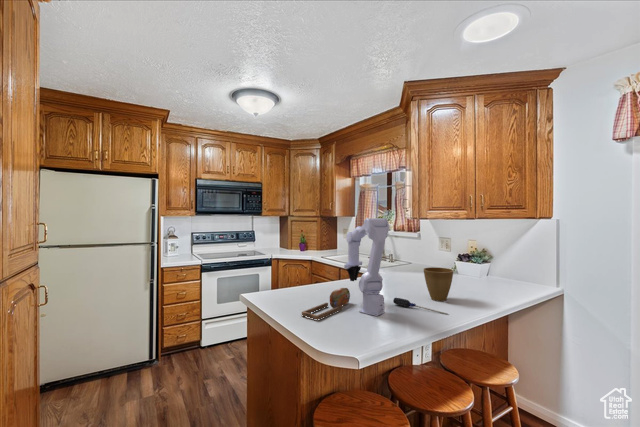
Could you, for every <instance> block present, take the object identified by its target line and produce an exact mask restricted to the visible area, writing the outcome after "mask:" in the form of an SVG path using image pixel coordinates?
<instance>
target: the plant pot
mask: <svg viewBox="0 0 640 427" xmlns="http://www.w3.org/2000/svg"><path fill="white" fill-rule="evenodd" d="M423 275H424V280H425V285H426V289H427V291H428V294H429V297H430V299H431V300H432V301H435V302H445V301H447V299H448V296H449V293H450V291H451V286H452V282H453V277H454V270H453V269H452V268H446V267H435V266H434V267H425V268H423Z"/></svg>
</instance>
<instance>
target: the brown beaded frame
mask: <svg viewBox="0 0 640 427" xmlns="http://www.w3.org/2000/svg"><path fill="white" fill-rule="evenodd" d="M327 306H328V307H329V302H324V303H322V304H319V305H316V306H313V307H311V308H308V309H306V310H303V311H301V316H302V315H303V316H307V317H310V318H313V319H317V320H318V319H321V318H323V317H326V316H328V315H330V314H332V315H334V314H333V313H335V312H337V311H339V312H341V311H342V310H343V308H342V306H338V307H336V308H331V309H329V310H326V311H324V312H321V313H319V314H314V313H315V312H314V311H316V310H319V309H322V308H324V307H327ZM328 307H327V308H328ZM324 309H325V308H324ZM322 310H323V309H322ZM340 310H341V311H340ZM319 311H320V310H319ZM311 312H314V313H312V314H311ZM337 313H338V312H337ZM335 314H336V313H335ZM330 316H331V315H330ZM328 317H329V316H328ZM326 318H327V317H326ZM323 319H324V318H323ZM321 320H322V319H321Z"/></svg>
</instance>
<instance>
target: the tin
mask: <svg viewBox="0 0 640 427" xmlns="http://www.w3.org/2000/svg"><path fill="white" fill-rule="evenodd" d="M350 297H351V294H350V289H348V287H340V288H337V289H335V290H333V291H332V292H331V293H330V295H329V305H330V307H331V309H333V308H336V307H338V306H342V305H345V304H347V305H348V304H349V303H350V299H351V298H350ZM345 306H346V305H345Z"/></svg>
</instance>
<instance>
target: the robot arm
mask: <svg viewBox="0 0 640 427" xmlns="http://www.w3.org/2000/svg"><path fill="white" fill-rule="evenodd" d="M389 228H390V224H389V221H388V219H387V218H385V217H382V218H380V217H379V218H373V217H371V218H369V217H366V218H365V219H364V220H363V224H362V225H361V226H360V225H358V226H356V227H355V229H353V230H352V231H348V232H347V233H346V237H345V238H346V242H347V247H348V248H347V249H348V250H347V252H348V253H347V261H346V263H345V264H344V266H343V267H344V268H343V269H345V270H346V271H347V274H348V277H349V280H350V282H355V281H357V280H358V277H359V273H360V271H361V268H362V267H361V266H363V261H360V246H361V242H362V239H363V238H364V237H365V236H366V235H367V237H368V239H371V240H372V244H371V249H370V254H369V260H368V264H367V270H366V271H365V272H364V273H363V274H362V275H361V277H360V279H359V280H358V288H359V290H360V292H361V293H362V308H361V309H360V310H359V311H358V312H359V313H363V314H365V315H366V314H367V315H370V316H375V317H378V316H380V315H381V314H383V313H385V296H384V295H383V294H380V293H381V291H382V290H383V287H384V285H383V284H384V283H383V282H384V281H383V277H382V275H381V274H380V273H379V272H380V268H381V264H382V263H381V262H382V258H383V253H384V248H385V245H386V243H385V242H386V239H387V238H388V235H389V234H388V233H389Z"/></svg>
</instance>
